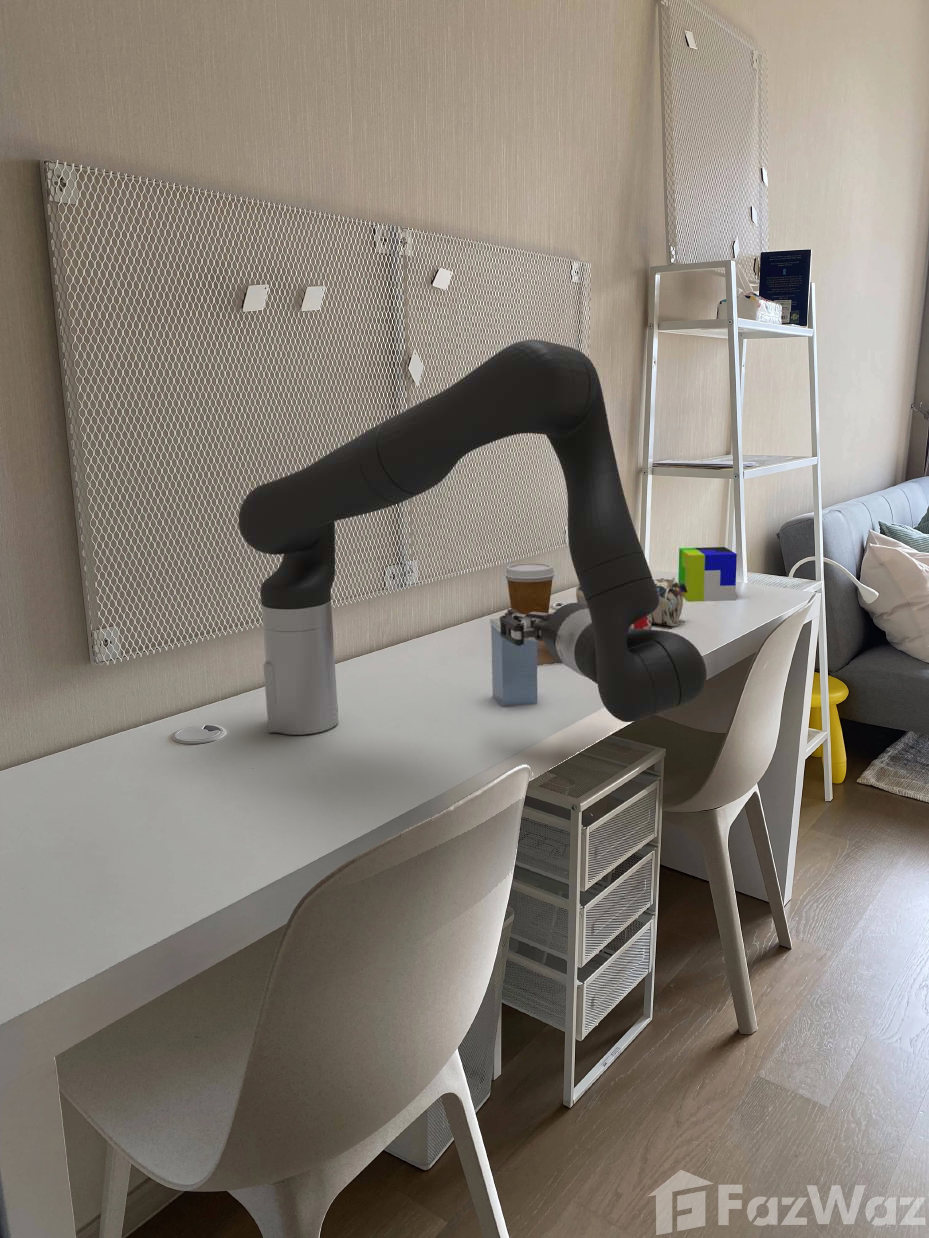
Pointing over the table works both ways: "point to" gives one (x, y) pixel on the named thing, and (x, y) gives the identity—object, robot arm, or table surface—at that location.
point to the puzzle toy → (708, 573)
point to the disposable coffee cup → (530, 587)
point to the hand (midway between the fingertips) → (540, 613)
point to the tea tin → (513, 669)
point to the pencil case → (668, 601)
